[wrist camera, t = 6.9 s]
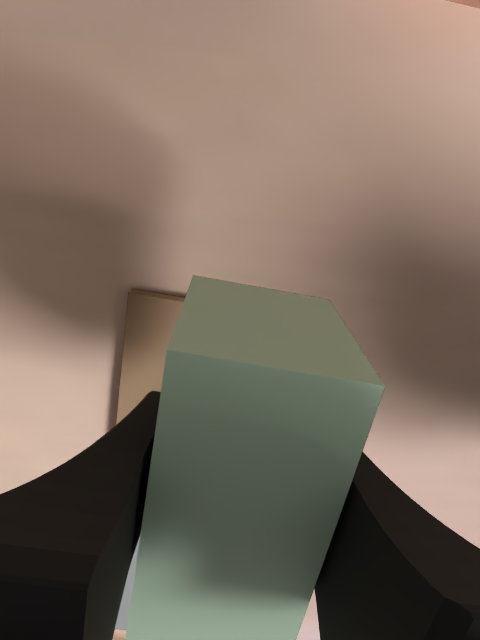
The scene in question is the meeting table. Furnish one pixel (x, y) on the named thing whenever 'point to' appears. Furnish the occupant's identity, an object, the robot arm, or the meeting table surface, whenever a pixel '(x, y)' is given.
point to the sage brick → (248, 463)
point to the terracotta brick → (468, 2)
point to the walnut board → (145, 345)
